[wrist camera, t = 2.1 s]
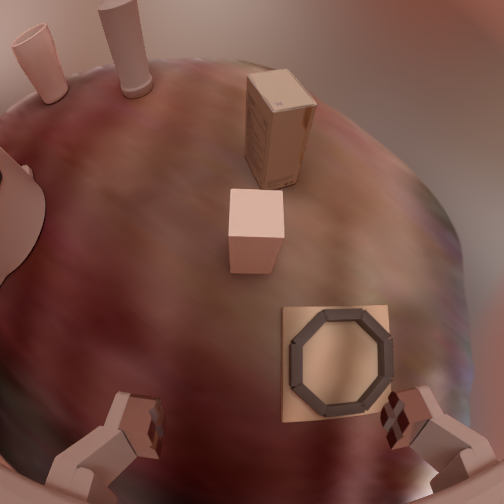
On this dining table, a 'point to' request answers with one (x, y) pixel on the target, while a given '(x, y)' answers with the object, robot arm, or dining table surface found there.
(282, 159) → the skincare box
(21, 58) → the drinking glass
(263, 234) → the carton
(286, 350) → the board
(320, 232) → the dining table surface
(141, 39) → the bottle
